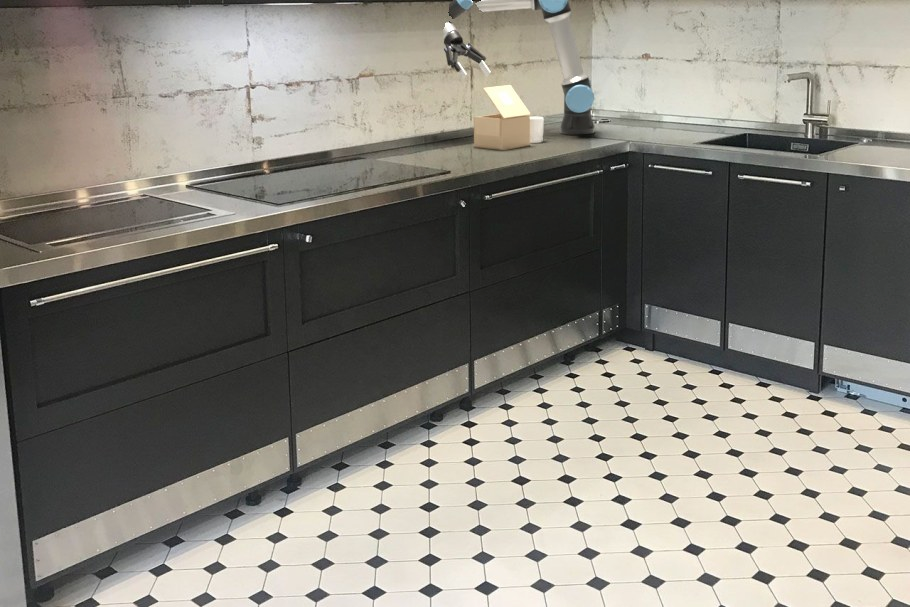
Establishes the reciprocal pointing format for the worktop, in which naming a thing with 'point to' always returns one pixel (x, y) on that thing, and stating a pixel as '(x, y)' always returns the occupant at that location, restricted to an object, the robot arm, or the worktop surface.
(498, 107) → the lid flap
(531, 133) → the white cup
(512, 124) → the carton
